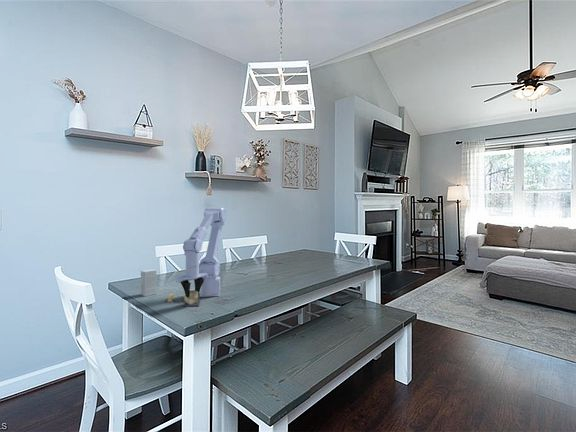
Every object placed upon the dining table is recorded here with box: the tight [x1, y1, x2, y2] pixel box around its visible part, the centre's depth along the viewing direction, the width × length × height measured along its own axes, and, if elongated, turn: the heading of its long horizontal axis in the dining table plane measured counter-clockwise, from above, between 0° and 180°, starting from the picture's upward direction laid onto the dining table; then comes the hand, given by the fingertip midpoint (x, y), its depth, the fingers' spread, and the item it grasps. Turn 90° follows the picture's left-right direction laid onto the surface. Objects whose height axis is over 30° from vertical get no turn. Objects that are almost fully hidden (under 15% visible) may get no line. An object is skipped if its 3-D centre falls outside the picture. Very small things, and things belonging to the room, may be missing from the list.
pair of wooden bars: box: [167, 293, 186, 303], centre depth 138 cm, size 9×6×2 cm
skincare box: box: [140, 268, 158, 297], centre depth 145 cm, size 6×4×12 cm
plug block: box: [185, 289, 199, 304], centre depth 132 cm, size 4×4×5 cm
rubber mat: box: [183, 299, 201, 308], centre depth 132 cm, size 6×6×1 cm
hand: (192, 295), depth 132 cm, fingers closed on plug block, 4 cm apart
